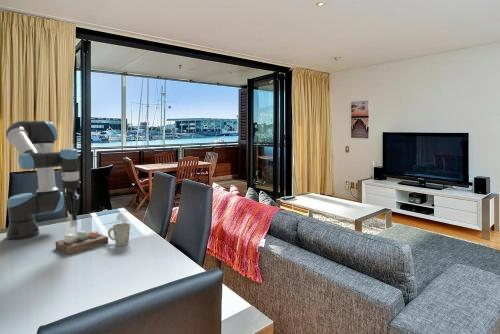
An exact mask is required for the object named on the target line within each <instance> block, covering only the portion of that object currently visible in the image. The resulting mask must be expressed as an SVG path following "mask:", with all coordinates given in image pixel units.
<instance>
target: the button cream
mask: <svg viewBox="0 0 500 334" xmlns="http://www.w3.org/2000/svg"><path fill="white" fill-rule="evenodd" d="M63 237H64V239H65V244H72V243H75V237H76V236H75V233H67V234H66V233H65V234H64V236H63ZM64 239H63V240H64Z"/></svg>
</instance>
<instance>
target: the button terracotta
mask: <svg viewBox="0 0 500 334" xmlns="http://www.w3.org/2000/svg"><path fill="white" fill-rule="evenodd" d="M88 233H89V238H95V237H99V236H98V233H99V231H98V230H93V231H89V232H88Z"/></svg>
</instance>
